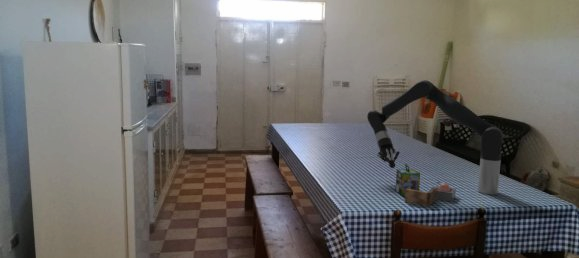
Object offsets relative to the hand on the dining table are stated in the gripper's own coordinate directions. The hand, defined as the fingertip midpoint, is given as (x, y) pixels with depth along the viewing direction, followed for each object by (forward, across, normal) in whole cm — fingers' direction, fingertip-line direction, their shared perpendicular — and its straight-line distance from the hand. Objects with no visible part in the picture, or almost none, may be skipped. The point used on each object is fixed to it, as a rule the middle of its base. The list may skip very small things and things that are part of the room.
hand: (393, 167), depth 227 cm
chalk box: (+18, 0, -4) cm, 19 cm away
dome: (+24, +14, -11) cm, 30 cm away
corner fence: (+27, 0, -13) cm, 30 cm away
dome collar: (+25, +14, -11) cm, 31 cm away
